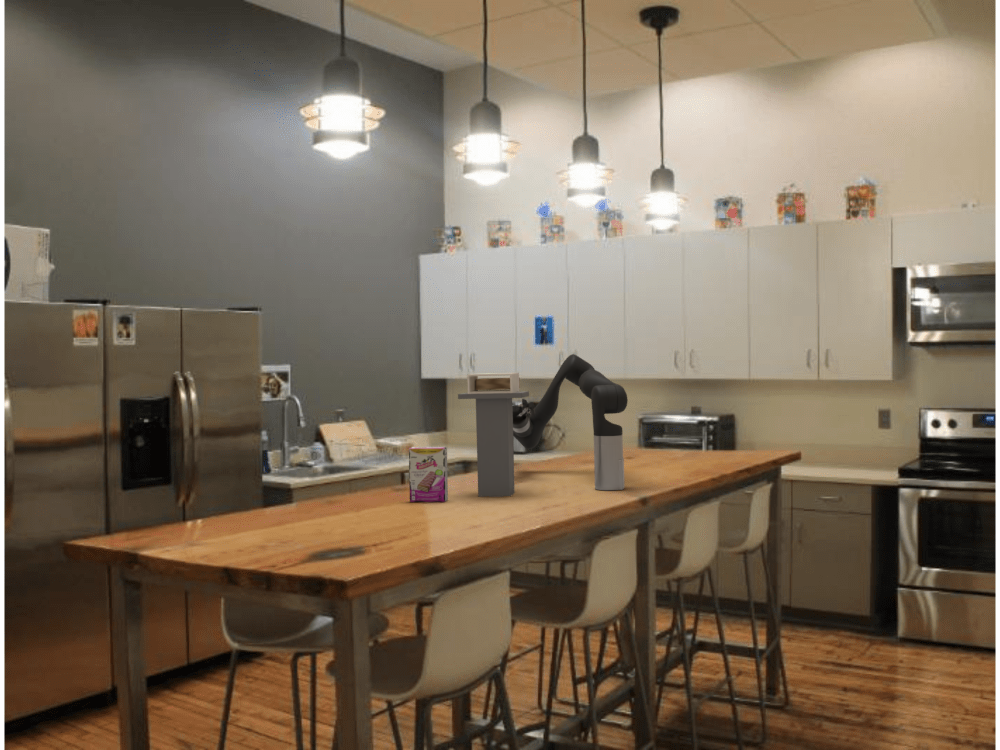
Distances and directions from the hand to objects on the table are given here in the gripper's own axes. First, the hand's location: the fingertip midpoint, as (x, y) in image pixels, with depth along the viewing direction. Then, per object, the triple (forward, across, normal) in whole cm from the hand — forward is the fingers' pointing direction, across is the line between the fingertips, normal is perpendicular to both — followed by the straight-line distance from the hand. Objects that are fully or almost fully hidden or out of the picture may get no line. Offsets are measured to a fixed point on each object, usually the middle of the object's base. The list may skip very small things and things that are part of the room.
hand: (510, 401), depth 336 cm
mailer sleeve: (+27, -1, +8) cm, 28 cm away
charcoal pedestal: (+14, -2, +37) cm, 39 cm away
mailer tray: (+16, 0, +2) cm, 16 cm away
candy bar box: (+26, -20, +42) cm, 54 cm away
